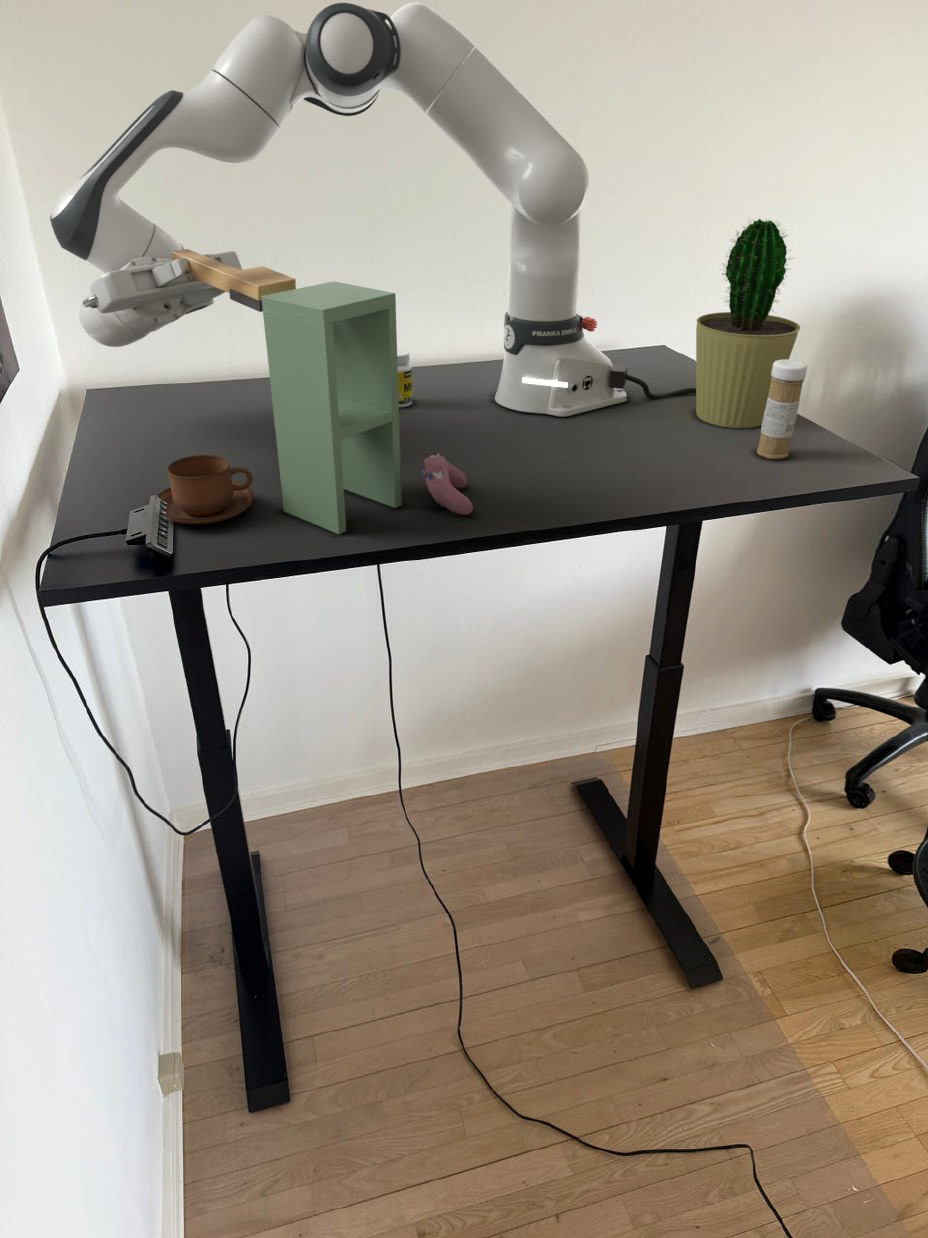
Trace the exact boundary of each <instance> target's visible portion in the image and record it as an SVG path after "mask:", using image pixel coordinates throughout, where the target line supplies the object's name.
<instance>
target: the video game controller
mask: <svg viewBox="0 0 928 1238" xmlns="http://www.w3.org/2000/svg"><path fill="white" fill-rule="evenodd" d="M423 464H424V469H422V475H423V477H425V478H424V480H425V484H426V486H427V488H428V491H429V493H430V495H431V497H432V498H433V499H434V501H435V502H436V504H439V506H440V507H441V508H442V509H443V508H445V509H447V510H449V511H451V512H453V513H454V514H457V515H459V516H469V515H470V514H471V513H472V512H473V509H474V507H473V506H474V505H473V502H472V501H471V500H470V498H468V497H467V496H466V495H464V494H463V493H462V492H460V490H458V489H461V490H462V489H464V488H465V487H467V484H468V479H467V477H466V475H465V473H464V472H463V471H461V470H460V469H459V468H457V467H455V466H454V465H452V464H451V463H450V462H449V461H448V460H447V459H446V458H445V457H444V456H442V455H440V452H438V453H437V454H436V455H433V454H432V455H430V456H428V457H426V458H425V459H423Z"/></svg>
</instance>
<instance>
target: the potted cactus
mask: <svg viewBox="0 0 928 1238" xmlns="http://www.w3.org/2000/svg"><path fill="white" fill-rule="evenodd" d="M747 221H749V222H748V226H747V225H745V224H743V226H742V231H741V232H740V231H736V232H735V235H736V238H734V239H733V238H730V241H731V243H733V244H734V246H731V247H730V248H729V255H728V253H725V257H726V258H728V259H726V261H727V262H726V263H723V264H722V266H723V267H724V269H723V276H724V277H725V279H726V281H728V283H729V286H727V287H726V290H725V291H724V293H727V294H729V296H725V297H722V299H726V298H729V299H728V300H727V302H726V301H723V304H724V303H726V304H727V305H725V307H726V306H728V307H729V310H727V311H721V312H713V313H707V314H703V315H700V316H699V317H697V318H696V326H695V327H696V329H695V337H696V339H695V347H696V348H695V349H696V350H695V354H696V355H695V358H696V359H695V360H696V361H695V388H696V393H695V398H696V400H695V412H696V417H697V418H698V419H700V420H701V421H703V422H704V423H705V422H706V423H708V424H711V425H714V426H719V427H725V428H733V429H749V428H757V427H762V423H763V418H764V412H765V409H766V404H767V399H768V394H769V389H770V384H771V380H772V378H771V377H772V376H771V372H772V367H773V363H774V362H775V361H777V360H785V359H788V360H790V358H791V354H792V352H793V349H794V346H795V343H796V342H797V341H796V340H797V337H798V334H799V331H800V330H801V326H800V324H799V323H797V322H796V321H793V320H792V319H788V318H785V317H781V316H777V315H771V314H770V312H771V313H772V312H773V313H775V314H777V312H775V311H774V310H773V308H772V307H773V304H774V303H776V304H778V302H779V300H777V299H776V298H778V297H776V294H777V295H780V292H781V288H780V287H779V286H780V285H782V286H786V285H787V284H786V283H784V281H786V279H787V276H786V273H787V270H791V268H788V267H787V268H786V266H787V260H788V261H791V260H794V259H795V258H793V257H792V256H791V257H787V254H788V253H787V252H788V250H787V248H788V247H789V246H788V245H789V244H788V245H786V243H785V241H784V239H785V238H786V237H788V236H789V233H788V234H785V232H786V229H783V228H781V226H782V224H780V223H778V221H777V220H775V221H773V220H770V219H767V218H765V220H763V219H761V218H758V219H757V220H754V219H752V220H751V219H749V218H748V219H747ZM780 228H781V229H780ZM779 229H780V230H779ZM782 231H783V232H782ZM784 234H785V235H784ZM787 246H788V247H787ZM790 251H792V249H791V250H789V252H790ZM719 270H722V269H719ZM785 276H786V277H785ZM721 282H723V280H722V281H721ZM774 305H775V304H774Z"/></svg>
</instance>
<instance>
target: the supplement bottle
mask: <svg viewBox="0 0 928 1238" xmlns="http://www.w3.org/2000/svg"><path fill="white" fill-rule="evenodd" d="M410 360H411V357H410V352H409V351H407V350H403V349H397V364H398V398H399V408H407V407H410V406H411V405H412V404H413V372H412V371H413V367H412V365H411V363H410Z"/></svg>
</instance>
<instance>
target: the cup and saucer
mask: <svg viewBox="0 0 928 1238" xmlns="http://www.w3.org/2000/svg"><path fill="white" fill-rule="evenodd" d="M166 469H167V476H168V480H169V485H170V487H168V488H165V490H163V491H160V493H158V494H157V495H156V496H158V497H159V498H160V499H161V500H163V501H165V502H166V503H167V504H166V511H165V512H166V514H164V515H165V516H166V517H167V518H169V519H170V520H171V521H170V520H169V521H170V522H173V523H177V524H182V525H193V526H194V525H196V526H198V525H199V526H200V525H210V524H215V523H220V522H221V523H222V522H223V521H227V520H230V519H233V518H235V517H236V516H239V515H240V514H242V513H243V512H245V511H246V510H247V509H248V508H249V507H250V505H252V503H253V499H254V492H253V490H252V489H251V488H250V487H251V486H252V483H253V474H252V472H251V471H250V470H249V469H248V468H246V467H244V466H243V467H242V466H237V467H232V468H231V464H230V461H229V460H228V459H227V458H225V457H223V456H220V455H215V454H214V455H213V454H196V455H191V456H190V455H189V456H185V457H182V458H179V459H176V460H174V461H172V462H171V463H169V465H168V466H167V468H166ZM238 473H242V474H244V475H245V476H246V482H245V483H242V482H238V481H234V480H232V476H234V475H235V474H238Z"/></svg>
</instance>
